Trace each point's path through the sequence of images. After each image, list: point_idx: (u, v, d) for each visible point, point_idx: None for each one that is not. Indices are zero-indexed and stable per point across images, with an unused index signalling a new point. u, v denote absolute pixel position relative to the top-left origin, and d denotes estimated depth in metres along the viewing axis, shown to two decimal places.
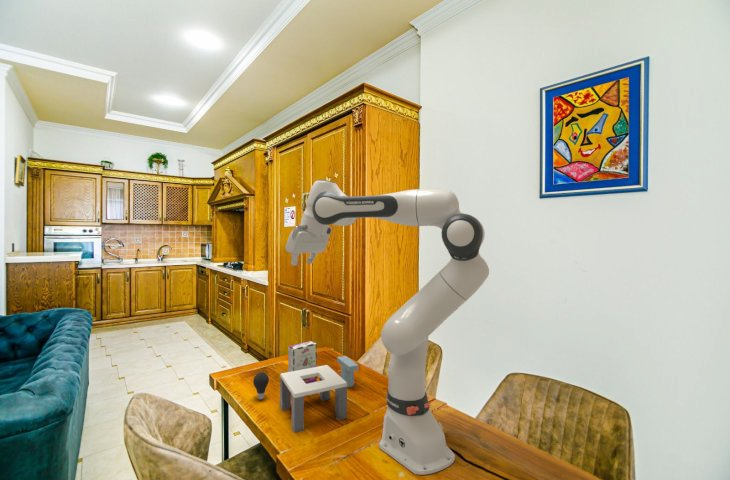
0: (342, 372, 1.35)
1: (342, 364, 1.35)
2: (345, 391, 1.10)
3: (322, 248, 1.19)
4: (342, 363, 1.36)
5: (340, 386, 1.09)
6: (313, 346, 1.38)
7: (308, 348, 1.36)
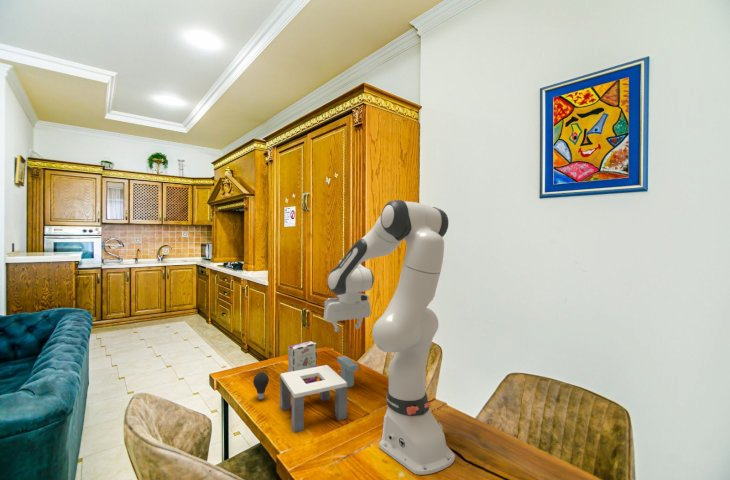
0: (342, 372, 1.35)
1: (342, 364, 1.35)
2: (345, 391, 1.10)
3: (366, 313, 1.38)
4: (342, 363, 1.36)
5: (340, 386, 1.09)
6: (313, 346, 1.38)
7: (308, 348, 1.36)
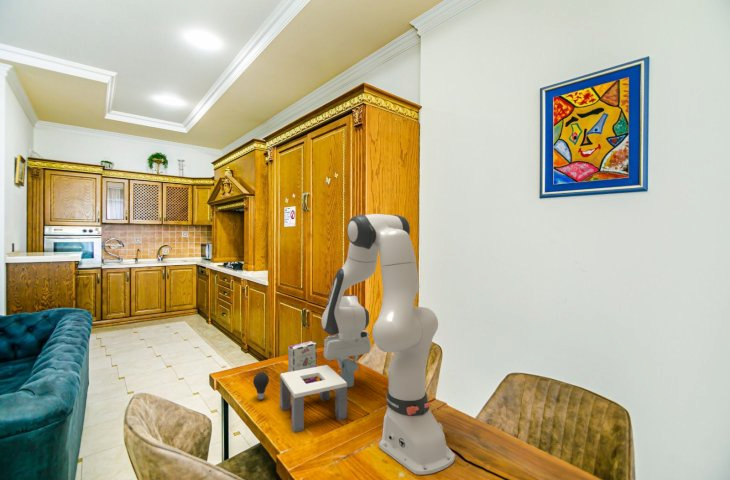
0: (342, 372, 1.35)
1: None
2: (345, 391, 1.10)
3: (365, 350, 1.38)
4: None
5: (340, 386, 1.09)
6: (313, 346, 1.38)
7: (308, 348, 1.36)
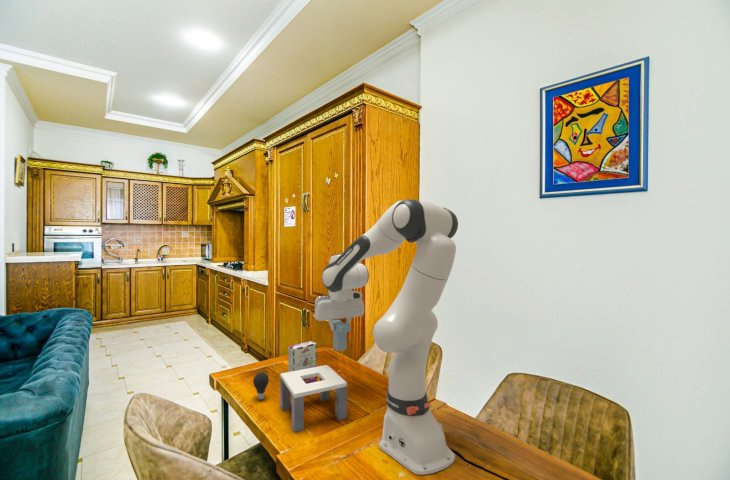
0: (334, 335, 1.30)
1: None
2: (345, 391, 1.10)
3: (359, 312, 1.32)
4: None
5: (340, 386, 1.09)
6: (313, 346, 1.38)
7: (308, 348, 1.36)
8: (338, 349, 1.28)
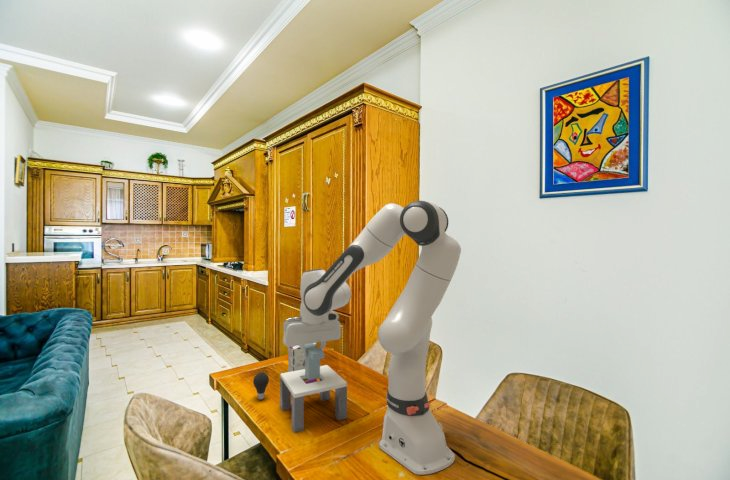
0: (306, 361, 1.14)
1: None
2: (345, 391, 1.10)
3: (335, 335, 1.16)
4: None
5: (340, 386, 1.09)
6: None
7: None
8: (310, 378, 1.12)
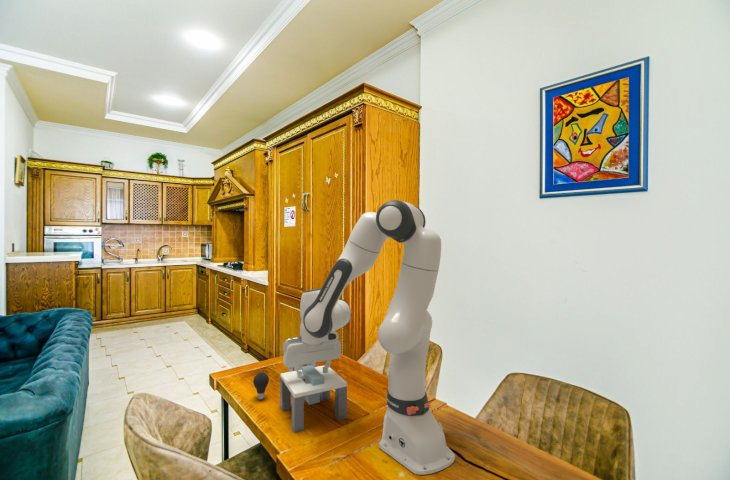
0: None
1: (306, 376, 1.14)
2: (345, 391, 1.10)
3: (335, 354, 1.16)
4: (306, 374, 1.14)
5: (340, 386, 1.09)
6: None
7: None
8: (310, 403, 1.12)
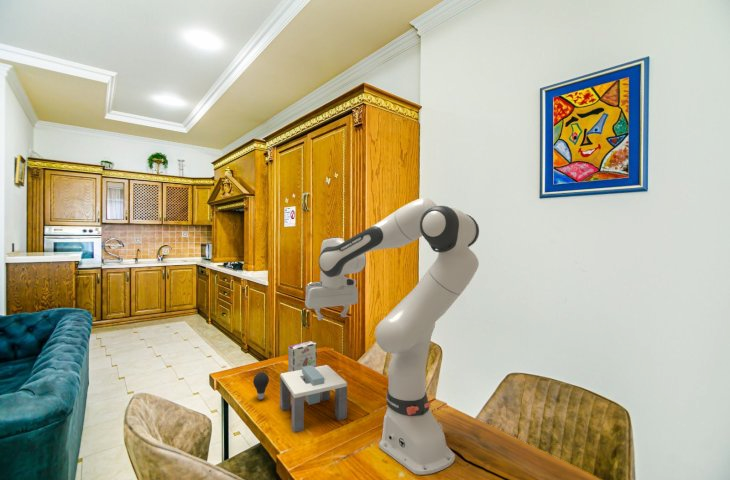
0: None
1: (306, 376, 1.14)
2: (345, 391, 1.10)
3: (352, 300, 1.24)
4: (306, 374, 1.14)
5: (340, 386, 1.09)
6: (313, 346, 1.38)
7: (308, 348, 1.36)
8: (310, 403, 1.12)
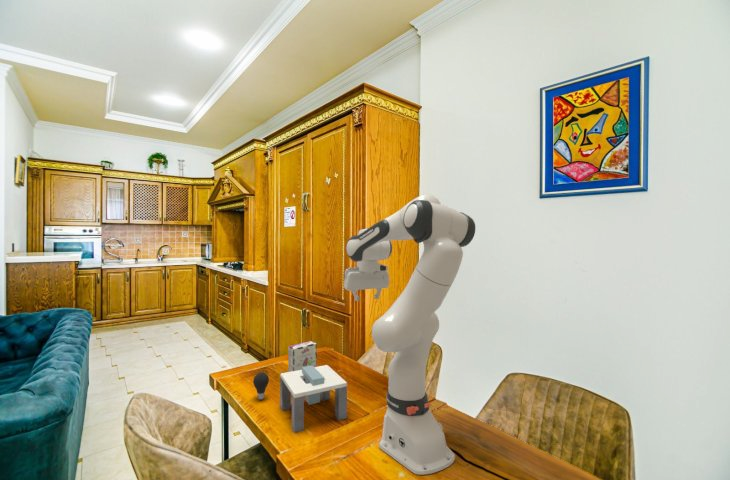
0: None
1: (306, 376, 1.14)
2: (345, 391, 1.10)
3: (384, 284, 1.40)
4: (306, 374, 1.14)
5: (340, 386, 1.09)
6: (313, 346, 1.38)
7: (308, 348, 1.36)
8: (310, 403, 1.12)
